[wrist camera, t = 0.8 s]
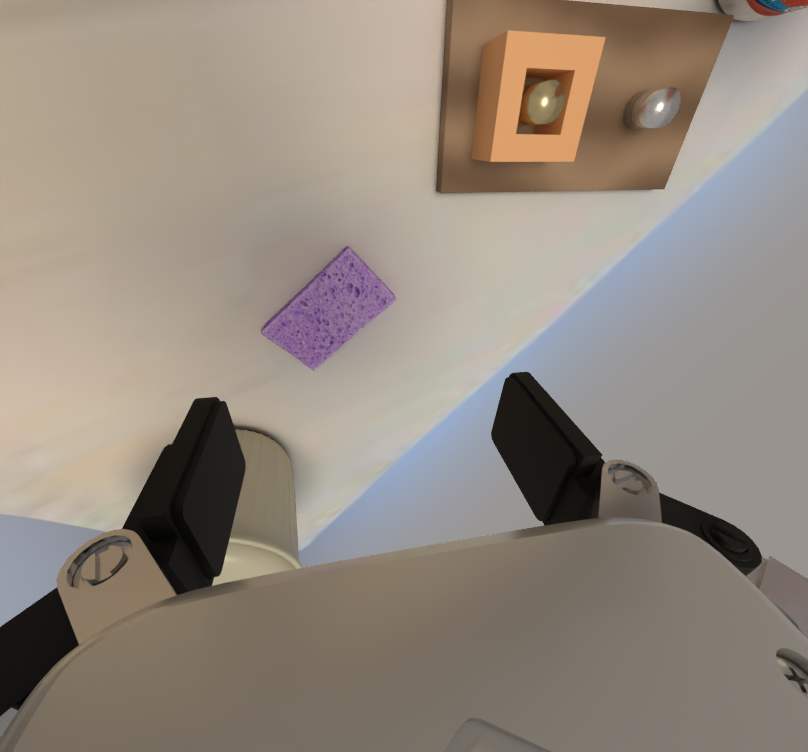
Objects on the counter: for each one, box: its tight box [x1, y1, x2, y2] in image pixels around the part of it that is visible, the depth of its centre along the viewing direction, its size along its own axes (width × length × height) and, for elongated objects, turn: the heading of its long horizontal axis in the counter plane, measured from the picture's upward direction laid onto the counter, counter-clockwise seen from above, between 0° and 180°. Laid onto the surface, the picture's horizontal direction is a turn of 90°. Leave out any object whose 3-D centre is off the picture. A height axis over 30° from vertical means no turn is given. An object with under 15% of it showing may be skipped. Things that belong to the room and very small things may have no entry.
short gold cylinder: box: [517, 80, 565, 126], centre depth 25 cm, size 2×2×4 cm
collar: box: [472, 30, 606, 162], centre depth 25 cm, size 7×7×4 cm
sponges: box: [261, 247, 396, 370], centre depth 35 cm, size 7×13×2 cm, turn 129°
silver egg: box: [623, 87, 681, 129], centre depth 28 cm, size 2×2×3 cm
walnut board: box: [436, 0, 734, 193], centre depth 28 cm, size 12×23×2 cm, turn 89°
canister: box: [212, 429, 303, 586], centre depth 36 cm, size 18×18×21 cm
